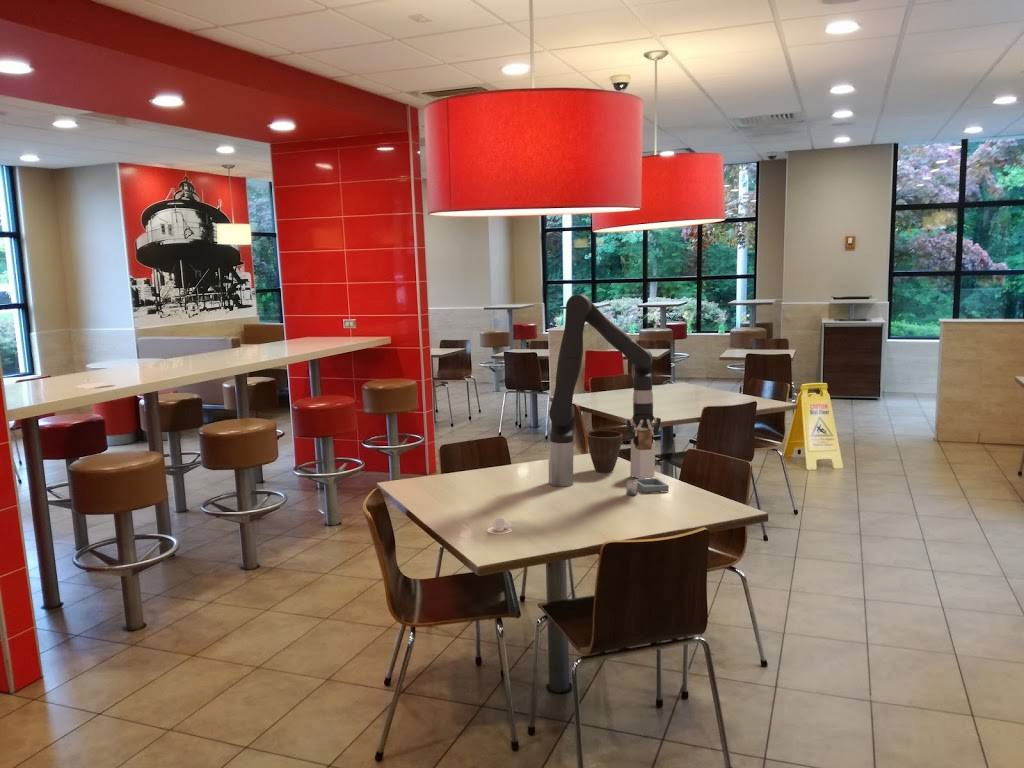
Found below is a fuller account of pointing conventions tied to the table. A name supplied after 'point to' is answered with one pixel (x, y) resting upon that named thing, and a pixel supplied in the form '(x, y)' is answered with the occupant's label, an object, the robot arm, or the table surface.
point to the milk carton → (642, 462)
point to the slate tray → (651, 485)
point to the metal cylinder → (631, 488)
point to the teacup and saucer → (500, 526)
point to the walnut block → (644, 440)
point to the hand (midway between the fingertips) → (643, 444)
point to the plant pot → (604, 449)
